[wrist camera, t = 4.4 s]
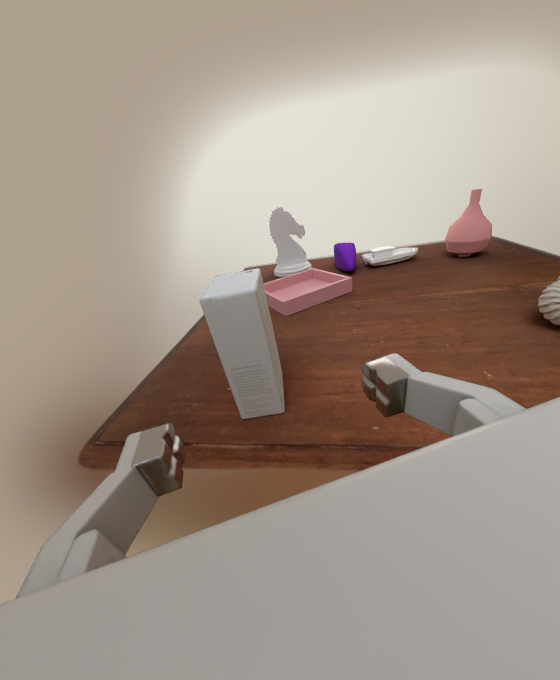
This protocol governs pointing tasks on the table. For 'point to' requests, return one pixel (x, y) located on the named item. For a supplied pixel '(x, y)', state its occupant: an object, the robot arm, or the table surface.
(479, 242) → the pink vase
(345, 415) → the table surface
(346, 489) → the robot arm
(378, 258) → the white toy boat
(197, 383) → the table surface
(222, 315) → the cosmetic box
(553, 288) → the fossil replica
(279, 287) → the tray
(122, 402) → the table surface
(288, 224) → the chess piece
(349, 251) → the purple rounded wedge
